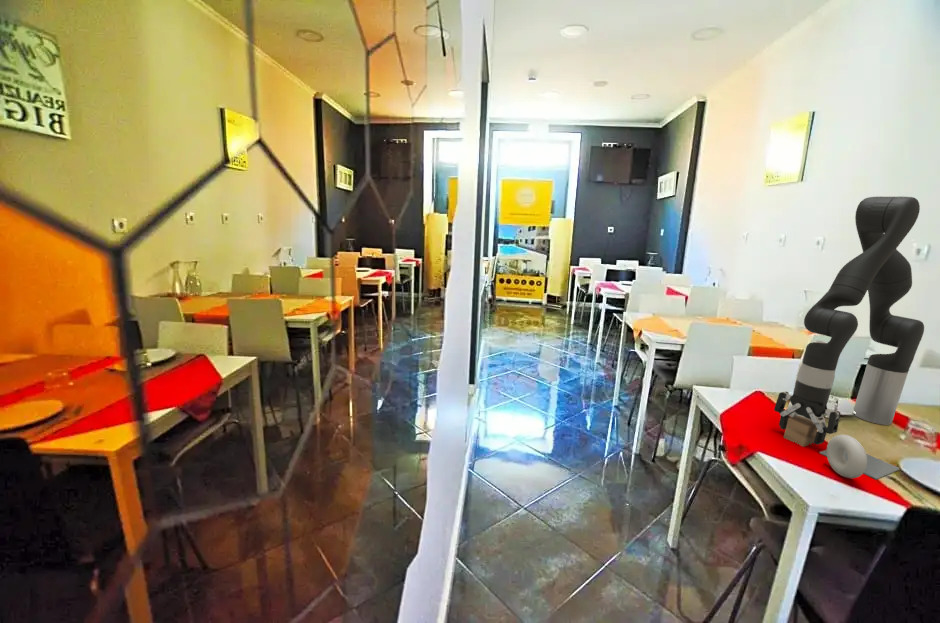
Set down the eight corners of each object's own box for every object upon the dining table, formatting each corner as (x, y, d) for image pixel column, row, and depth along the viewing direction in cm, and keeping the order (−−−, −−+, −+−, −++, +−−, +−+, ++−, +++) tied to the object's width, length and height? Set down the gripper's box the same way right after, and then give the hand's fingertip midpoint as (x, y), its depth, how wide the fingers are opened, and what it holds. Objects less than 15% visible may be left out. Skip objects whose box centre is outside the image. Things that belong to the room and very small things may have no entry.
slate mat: (843, 444, 117) (843, 443, 117) (900, 469, 106) (900, 468, 106) (819, 453, 112) (819, 452, 112) (876, 479, 101) (876, 478, 101)
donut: (818, 461, 108) (828, 426, 105) (833, 463, 107) (843, 427, 105) (848, 486, 98) (860, 448, 96) (864, 488, 98) (876, 449, 95)
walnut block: (793, 434, 121) (798, 415, 120) (813, 443, 117) (819, 423, 115) (783, 437, 119) (788, 418, 118) (803, 446, 115) (808, 426, 113)
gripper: (853, 390, 109) (837, 446, 113) (793, 370, 121) (780, 421, 125) (838, 394, 106) (821, 452, 110) (777, 373, 118) (764, 425, 122)
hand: (799, 435), depth 117 cm, fingers open, 8 cm apart
